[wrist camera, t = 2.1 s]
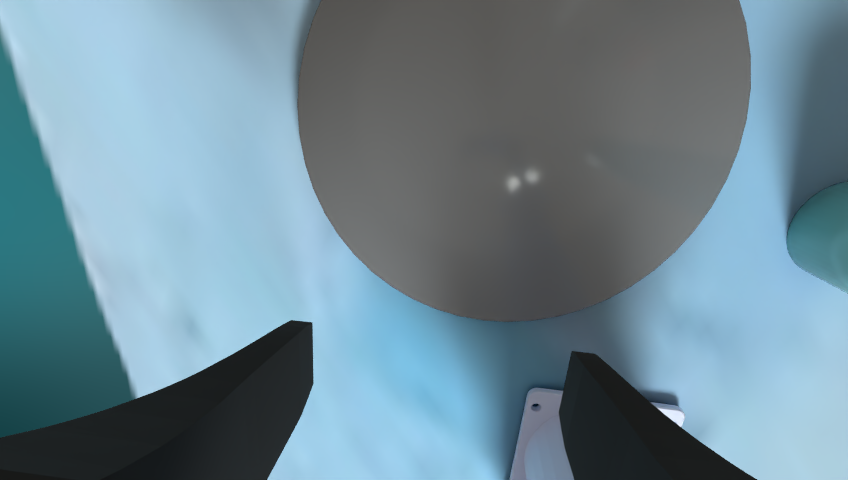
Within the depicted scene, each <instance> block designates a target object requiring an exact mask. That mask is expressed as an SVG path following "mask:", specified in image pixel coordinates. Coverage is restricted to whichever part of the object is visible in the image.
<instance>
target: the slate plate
mask: <svg viewBox="0 0 848 480" xmlns="http://www.w3.org/2000/svg"><path fill="white" fill-rule="evenodd" d="M750 89H751V55H750V48H749V42H748V35H747V28H746V22H745V19H744V15H743V12H742V8H741V5H740V2H739V0H321V2H320V5H319V7H318V9H317V11H316V13H315V16H314V18H313V21H312V24H311V28H310V31H309V34H308V37H307V41H306V44H305V47H304V53H303V58H302V64H301V70H300V75H299V89H298V120H299V134H300V140H301V145H302V150H303V155H304V161H305V165H306V168H307V171H308V174H309V177H310V180H311V183H312V186H313V189H314V191H315V193H316V195H317V198H318V200H319V202H320V204H321V206H322V208H323V210H324V213H325V214H326V216H327V217H328V219H329V221H330V222H331V224H332V225H333V227H334V229H335V230H336V232H337V233H338V235H339V236H340V237H341V239H342V240H343V241H344V242H345V244H346V245H347V246H348V247H349V249H350V250H351V251H352V252H353V254H354V255H355V256H356V257H357V258H358V259H359V260H361V261H362V262H363V263H364V264H365V265H366V266H367V267H368V268H369V269H370V270H371V271H372V272H373V273H374V274H376V275H377V276H378V277H380V278H381V279H382V280H384V281H385V282H386V283H388V284H389V285H390V286H392V287H393V288H395V289H397V290H398V291H400V292H402V293H403V294H405V295H407V296H409V297H410V298H412V299H414V300H416V301H419V302H421V303H423V304H425V305H428V306H430V307H432V308H435V309H438V310H441V311H444V312H448V313H451V314H454V315H457V316H462V317H468V318H473V319H479V320H487V321H503V322H513V321H533V320H539V319H545V318H551V317H557V316H561V315H564V314H568V313H571V312H575V311H579V310H582V309H585V308H587V307H590V306H592V305H595V304H597V303H599V302H602V301H604V300H607V299H609V298H611V297H612V296H614V295H616V294H618V293H620V292H622V291H624V290H625V289H627V288H629V287H631V286H632V285H634V284H635V283H637V282H638V281H640V280H641V279H642V278H644V277H645V276H647V275H648V274H650V273H651V272H652V271H654V270H655V269H656V268H657V267H658V266H660V265H661V264H662V263H663V262H664V261H665V260H666V259H668V258H669V257H670V256H671V255H672V254H673V253H674V252H675V251H676V250H677V249H678V248H679V247H680V246H681V245H682V244H683V243H684V242H685V240H686V239H687V238H688V237H689V236H690V235H691V234H692V233H693V232H694V230H695V229H696V228H697V226H698V225H699V224H700V222H701V221H702V219H703V218H704V217H705V215H706V214H707V212H708V211H709V210H710V208H711V207H712V205H713V203H714V202H715V200H716V198H717V196H718V194H719V193H720V191H721V189H722V187H723V185H724V184H725V182H726V180H727V178H728V175H729V173H730V170H731V168H732V165H733V163H734V160H735V158H736V155H737V153H738V150H739V146H740V143H741V139H742V135H743V131H744V128H745V124H746V120H747V112H748V105H749V97H750Z"/></svg>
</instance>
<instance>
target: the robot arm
mask: <svg viewBox="0 0 848 480" xmlns="http://www.w3.org/2000/svg"><path fill="white" fill-rule="evenodd" d="M312 386H313V336H312V323H311V322H302V321H293V320H291V321H289V322H287V323H285V324H283V325H281V326H280V327H278V328H276V329H275V330H273V331H271V332H270V333H268V334H266V335H265V336H263V337H261V338H260V339H258V340H256V341H255V342H253V343H251V344H249V345H248V346H246V347H244V348H243V349H241V350H239V351H238V352H236V353H234V354H232V355H230V356H229V357H227V358H225V359H223V360H221V361H219V362H217V363H215V364H214V365H212V366H210V367H208V368H206V369H204V370H202V371H200V372H198V373H196V374H194V375H192V376H190V377H188V378H186V379H184V380H181V381H179V382H177V383H175V384H172V385H170V386H168V387H165V388H163V389H161V390H158V391H156V392H153V393H151V394H148V395H145V396H142V397H140V398H137V399H134V400H131V401H129V402H126V403H123V404H121V405H118V406H115V407H112V408H109V409H106V410H103V411H100V412H97V413H94V414H90V415H88V416H84V417H81V418H77V419H74V420H70V421H66V422H63V423H59V424H56V425H52V426H48V427H45V428H40V429H36V430H32V431H28V432H23V433H19V434H14V435H10V436H6V437H2V438H0V480H267V479H268V477H269V475H270V473H271V471H272V469H273V467H274V466H275V464H276V462H277V460H278V458H279V456H280V454H281V453H282V451H283V449H284V447H285V445H286V443H287V441H288V440H289V438H290V436H291V434H292V432H293V430H294V428H295V426H296V425H297V423H298V421H299V419H300V417H301V415H302V412H303V410H304V407H305V404H306V402H307V399H308V397H309V394H310V391H311V388H312ZM533 404H539V405H538V406H535V407H534V406H532V405H533ZM684 419H685V414H684V412H683V411H682V409H681V408H680V407H679V406H676V405H669V404H661V403H653V402H649V401H648V400H647V399H646V398H645V397H644V396H642V395H641V394H640V393H639V392H638V391H637V390H636V389H634V388H633V387H632V386H631V385H630V384H629V383H628V382H627V381H625V380H624V379H623V378H622V377H621V376H620V375H619V374H618V373H617V372H616V371H614V370H613V369H612V368H611V367H610V366H609V365H608V364H607V363H605V362H604V361H603V360H602V359H601V358H600V357H598V356H597V355H596V354H592V353H583V352H574V351H572V353H571V357H570V362H569V367H568V371H567V376H566V380H565V385H564V390H563V391H560V390H552V389H545V388H533V389H531V390H530V391H528V394H527V398H526V402H525V407H524V412H523V417H522V422H521V426H520V431H519V436H518V441H517V446H516V450H515V455H514V460H513V465H512V469H511V474H510V479H509V480H757V479H755V478H753V477H752V476H750V475H749V474H747V473H745V472H744V471H742V470H741V469H739V468H738V467H736V466H734V465H733V464H731V463H730V462H728V461H727V460H726V459H724V458H723V457H721V456H720V455H718V454H717V453H715V452H714V451H713V450H711V449H710V448H708V447H707V446H705V445H704V444H702V443H701V442H700V441H698V440H697V439H696V438H694V437H693V436H692V435H690V434H689V433H688V432H686V431H685V430H684V429H682V428H681V427H682V424H683V422H684Z"/></svg>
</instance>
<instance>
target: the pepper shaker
mask: <svg viewBox="0 0 848 480" xmlns="http://www.w3.org/2000/svg"><path fill="white" fill-rule="evenodd" d="M787 248H788V252H789V255H790V256H791V258H792V260H793V261H794V263H795V264H796V265H797V266H799V267H800V268H801V269H803V270H804V271H806V272H808V273H810V274H812V275H814V276H815V277H817V278H819V279H821V280H823V281H825V282H827V283H829V284H831V285H832V286H834V287H836V288H838V289H840V290H842V291H844V292H846V293H847V294H848V182H843V183H839V184H836V185H833V186H830V187H828V188H826V189H824V190H822V191H820V192H818V193H817V194H815V195H814V196H813V197H811V198H810V199H809V200H808V201H807V202H806V203H805V204H804V205H803V206H802V207H801V208H800V209H799V210H798V212H797V213H796V214H795V216H794V218H793V219H792V222H791V224H790V226H789V229H788V234H787Z"/></svg>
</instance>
